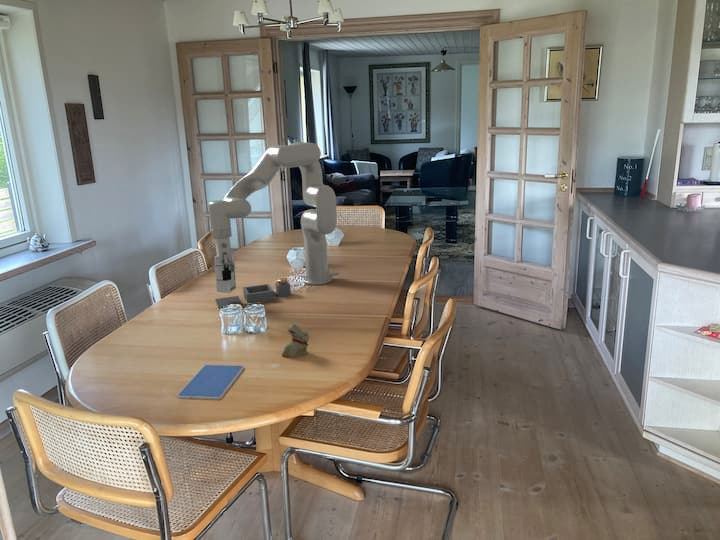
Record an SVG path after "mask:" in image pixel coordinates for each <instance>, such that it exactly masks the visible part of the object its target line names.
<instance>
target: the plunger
mask: <svg viewBox="0 0 720 540" xmlns="http://www.w3.org/2000/svg"><path fill="white" fill-rule="evenodd" d="M287 281H288V278H286V277H285V278H284V277H281V278H278V279H277V281H276V282H278V283H280V285H281V284H285V283H286V282H287Z"/></svg>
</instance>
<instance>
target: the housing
mask: <svg viewBox="0 0 720 540" xmlns="http://www.w3.org/2000/svg"><path fill="white" fill-rule="evenodd" d="M274 283H275V291H274V289H273V288H272V286H271V285H270V283H265V284H257V285H251V286H242V292H243V293H242V294H243V299H244V300H245V302H246V301H247V302H246V303H253V304H259V303H258V302H261V303H266V301H268V302H272V301H273V300H275V298H285V297H291V296H292V295H291V293H292V292H291V284H290V282H289V281H288V280H287V282H286V283H285V284H281V285H280V283H278V282H277V281H276V282H274ZM274 297H275V298H274ZM273 302H274V301H273Z"/></svg>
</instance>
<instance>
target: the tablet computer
mask: <svg viewBox="0 0 720 540" xmlns="http://www.w3.org/2000/svg"><path fill="white" fill-rule="evenodd" d="M244 370H245V366H243V365H227V364H226V365H222V364H221V365H220V364H205V365H203V366H202V367H201V368H200V370H199V371H198V372H197V373H196V374H195V375H194V376H193V377H192V378H191V379H190V381H188V383H187V384H186V385H185V386H184V387H183V388H182V389H181V390H180V391H179V393H178V394H177V395H176V399H186V400H188V399H189V400H214V401H215V400H216V401H218V400H222V399H223V397H224V396H225V394H227V392H228V390H229V389H230V388H231V387H232V385H233V384H234V382H235V381H236V380H237V378H238V377H239V376H240V374H241V373H242V372H243V371H244Z"/></svg>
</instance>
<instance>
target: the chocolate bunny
mask: <svg viewBox="0 0 720 540" xmlns="http://www.w3.org/2000/svg"><path fill="white" fill-rule="evenodd" d="M287 333H289V334H290V335H291V337H292V338H291V339H292V340H290V341H289V342H287V343H286V345H285V346H284V348H283V350H282V352H281V357H285V358H298V357H299V358H300V357H303V356H306V355H307V353H308V350H307V348H308V346H309V343H308V341H309V339H310V335H309V333H308V332H307V331H305V330H302V329H301V328H300V327H299V326H298V325H297V324H296V323H292V324H291V326H290V327H288V328H287Z"/></svg>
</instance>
